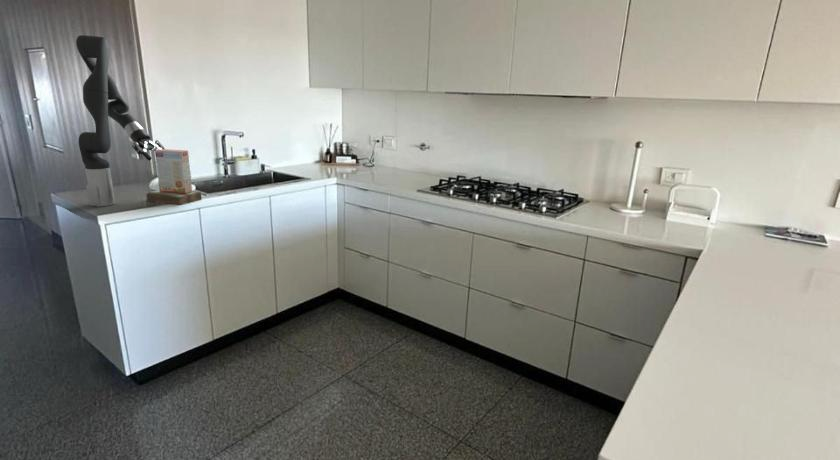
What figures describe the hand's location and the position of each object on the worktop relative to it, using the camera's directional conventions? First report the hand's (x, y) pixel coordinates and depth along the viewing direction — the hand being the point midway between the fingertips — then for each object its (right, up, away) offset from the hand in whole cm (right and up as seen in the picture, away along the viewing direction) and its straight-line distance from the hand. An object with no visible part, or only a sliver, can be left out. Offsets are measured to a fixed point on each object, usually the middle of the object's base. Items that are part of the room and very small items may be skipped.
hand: (157, 158), depth 224 cm
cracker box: (+8, -17, +3) cm, 19 cm away
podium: (+6, -20, +4) cm, 21 cm away
